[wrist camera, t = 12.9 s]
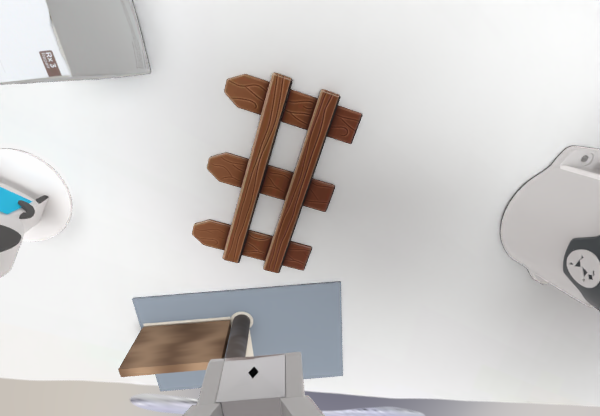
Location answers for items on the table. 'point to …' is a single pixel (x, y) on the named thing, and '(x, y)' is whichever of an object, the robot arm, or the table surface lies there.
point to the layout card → (259, 324)
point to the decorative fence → (275, 169)
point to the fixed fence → (185, 346)
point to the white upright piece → (29, 203)
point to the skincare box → (69, 41)
